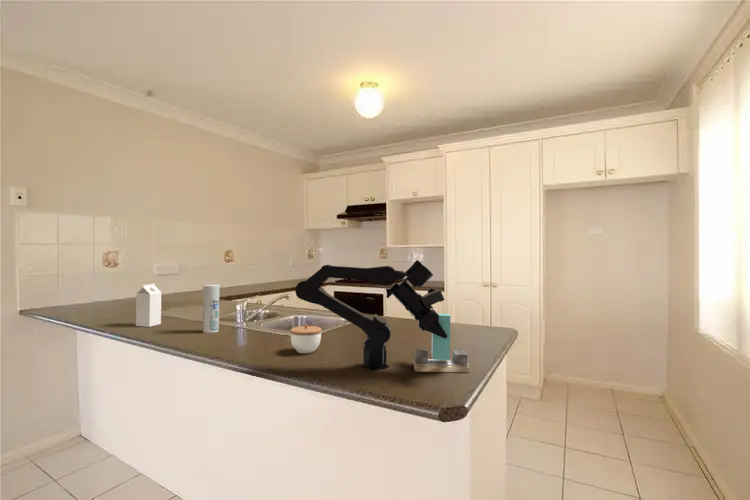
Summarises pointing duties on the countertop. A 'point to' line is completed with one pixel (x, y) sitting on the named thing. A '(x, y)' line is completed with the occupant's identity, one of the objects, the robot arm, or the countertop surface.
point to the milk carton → (148, 306)
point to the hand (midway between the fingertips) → (445, 335)
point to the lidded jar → (305, 338)
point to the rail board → (441, 362)
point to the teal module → (441, 340)
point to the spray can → (211, 308)
